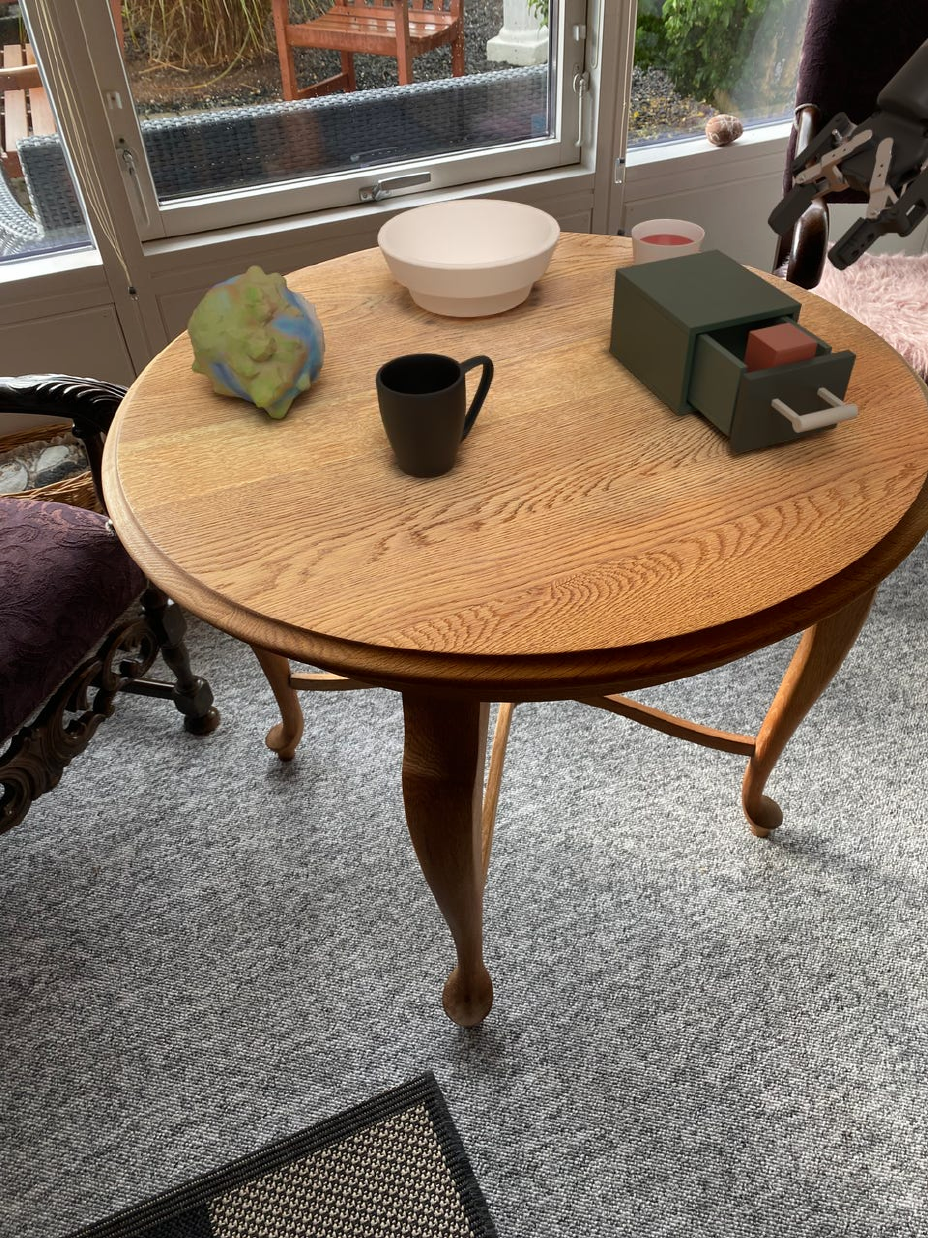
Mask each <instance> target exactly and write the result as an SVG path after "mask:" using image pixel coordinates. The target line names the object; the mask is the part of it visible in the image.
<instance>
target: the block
mask: <svg viewBox="0 0 928 1238" xmlns="http://www.w3.org/2000/svg"><path fill="white" fill-rule="evenodd" d="M817 343H818V342H817V341H816V340H814V339H813V338H811V337H810V336H808V335H807V334H805V333H804V332H802V331H801V330H799V329H798V328H797V327H795V326H794V325H792V324H791V323H785V324H781V325H776V326H772V327H768V328H763V329H759V330H754V331H750V333H749V338H748V343H747V348H746V354H745V359H744V364H745V365H747V366H748V369H747V373H750V372H754V371H759V370H763V369H767V368H772V367H776V366H780V365H784V364H789V363H793V362H797V361H802V360H806V359H810V358H814V355H815V351H816V347H817Z"/></svg>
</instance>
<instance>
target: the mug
mask: <svg viewBox="0 0 928 1238" xmlns="http://www.w3.org/2000/svg"><path fill="white" fill-rule="evenodd" d="M479 366H482V372H481V377H480V381H479V383H478V385H477V388H476V391H475V394H474V396H473V399H472V400H471V403H470V406H469V407H468V409H467V387H466V386H467V385H466V374H467V373H469V372H470V371H471V370H473V369H475V368H477V367H479ZM494 373H495V367H494V363H493V359H491V358H490V357H489V356H488V355H485V354H480V355H475V356H472V357H469V358H468V359H465V360H463V361H461V362H459V361H458V360H456V359H455V358H452V357H450V356H447V355H445V354H440V353H439V354H438V353H431V352H430V353H428V352H423V353H421V352H419V353H412V354H411V353H410V354H406V355H402V356H398V357H396V358H393V359H391V360H389V361H387V362H386V363H384V364H383V365H381V367H380V368H379V369H378V370H377V372H376V374H375V387H376V395H377V403H378V410H379V415H380V418H381V423H382V425H383V428H384V432H385V434H386V437H387V440H388V442H389V445H390V447H391V449H392V452H393V455H394V456H395V457H396V460H397V462H398V465H399V468H400V469H401V470H402V472H404V473H405V474H407V475H409V476H411V477H416V478H423V479H425V478H427V479H428V478H434V477H439V476H442V475H444V474H446V473H448V472H450V471H451V470H452V469H453V468H454V466H455V464H456V461H457V456H458V452H459V448H460V446H461V444H462V443H464V442H465V441H466V439H467V438H468V436H469V434H470V433H471V431H472V429H473V428H474V425H475V423H476V420H477V418H478V416H479V414H480V412H481V410H482V409H483V408H482V407H483V405H484V403H485V400H486V398H487V396H488V393H489V391H490V390H491V386H492V383H493V379H494Z"/></svg>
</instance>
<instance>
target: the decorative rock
mask: <svg viewBox="0 0 928 1238" xmlns="http://www.w3.org/2000/svg"><path fill="white" fill-rule="evenodd" d="M186 329H187V334H188V336H189V339H190V344H191V346H192V350H193V351H192V353H193V357H194V360H193V362H192V364H191V370H192V372H193V374H199V375H204V376H206V377H207V378H208V379H209V380H210V383H211V389H212V390H213V391H214V393H215V394H219V395H223V396H226V397H230V398H232V397H233V398H241V399H242V400H243V399H244V400H245V401H247V402H251V403H253V404H255V406H256V407H257V408H263V409H264V410H265V411H266V412H267V413H268V415H269V416H270V417H271V418H272V419H283V418H284V417H285V416H286V415H287V412H288V410H289V409H290V407H291V405H292V403H293V400H294V399H296V398H297V397H298V396H300V395H301V394H302V393H303V392H304V391H305V390H306V391H308V390H310V388H311V384H312V383H314V382H318V381H319V380H320V379H321V371H322V368H323V366H324V363H325V359H324V358H325V354H326V347H327V346H326V342H325V333H324V327H323V324H322V322H321V320H320V319H319V317H318V315H317V311H316V304H314V303H312V302H310V301H309V299H306V297H305V295H303V294H302V293H300V292H296V291H292V290H291V289H289V287H288V283H287V279H286V277H284V276H282V275H281V274H280V273H279V272H272V273H269V274H266V273H265V272H264V271H263V269H262V267H260V266H259V265H254V264H253V265H252V266H250V267H249V268H248V269H247V270H246V272H244V273H242V274H238V275H236V276H233V277H230V278H228V279H227V280H225V281H222V282H219V283H216V284H215V285H213V286H212V287H211V288H210V289H209V290H208V291H207V292H205V295H204V297H202V300H201V301H200V302H199V304H198V305H197V307H196V308H194V310H193V313H192V314H191V317H190V318H189V320H188V323H187V328H186Z"/></svg>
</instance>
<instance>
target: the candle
mask: <svg viewBox="0 0 928 1238" xmlns="http://www.w3.org/2000/svg"><path fill="white" fill-rule="evenodd" d="M630 232H631V233H630V234H631V243H632V245H631V246H632V259H633V266H634V265H639V264H644V263H649V262H655V261H660V260H665V259H670V258H675V257H680V256H685V255H691V254H696V253H700V250H701V247H702V245H703V241H704V239H705V235H706V233H705V230H704V229H703V228H702V227H701V226H699V224H696V223H694V222H691V221H688V220H684V219H683V220H682V219H675V218H658V219H651V220H646V221H642V222H640V223H638V224H636V225H635V226H633V227H632V229H631V231H630Z"/></svg>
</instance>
